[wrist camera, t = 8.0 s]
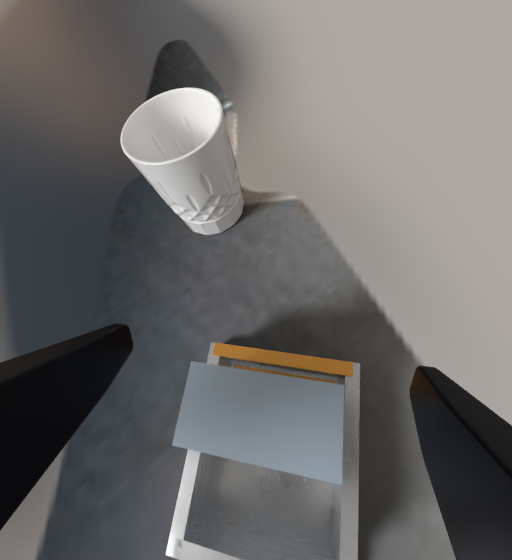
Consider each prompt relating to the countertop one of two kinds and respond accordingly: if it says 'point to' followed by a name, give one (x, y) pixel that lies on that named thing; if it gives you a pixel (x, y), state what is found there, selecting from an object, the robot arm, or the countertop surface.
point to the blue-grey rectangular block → (264, 420)
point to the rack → (271, 484)
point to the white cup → (187, 157)
